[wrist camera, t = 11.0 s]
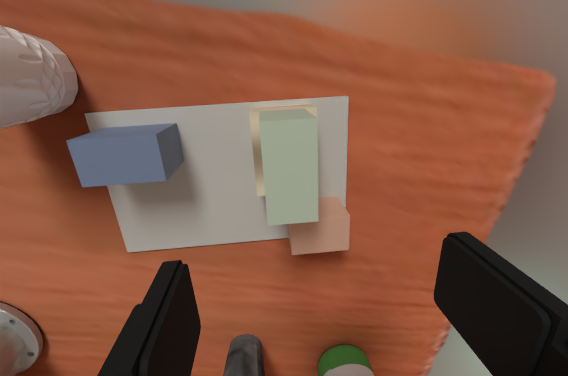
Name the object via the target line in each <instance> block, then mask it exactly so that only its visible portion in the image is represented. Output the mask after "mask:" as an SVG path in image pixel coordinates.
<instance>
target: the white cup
mask: <svg viewBox="0 0 568 376" xmlns="http://www.w3.org/2000/svg"><path fill="white" fill-rule="evenodd" d="M77 92H78V82H77V74H76V71H75V69H74V68H73V66H72V64H71V62H70V61H69V59H68V57H67V56H66V55H65V54H64V53H63V52H62V51H61V50H60V49H58V48H57V47H56V46H55V45H54V44H52V43H51V42H50V41H47V40H44V39H41V38H39V37H36V36H33V35H30V34H26V33H21V32H19V31H17V30H14V29H11V28H7V27H3V26H0V130H2V129H6V128H10V127H13V126H17V125H21V124H24V123H27V122H31V121H34V120H38V119H40V118H43V117H45V116H48V115H52V114H56V113H60V112H62V111H63V110H65V109H66V108H68V107H69V106H70V105H72V104H73V102H74V100H75V97H76V95H77Z"/></svg>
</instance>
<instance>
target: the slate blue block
mask: <svg viewBox="0 0 568 376" xmlns="http://www.w3.org/2000/svg"><path fill="white" fill-rule="evenodd" d="M66 142H67V145H68V148H69V151H70V154H71V157H72V160H73V162H74V165H75V168H76V171H77V174H78V177H79V180H80V183H81V185H82V187H94V186H107V185H120V184H133V183H145V182H158V181H167V180H168V179H169V177H170V176H171V175H172V174H173V173H174V172H175V171H176V170H177V169H178V167H179V166H180V165H181V164H182V163H183V162H184V159H183V154H182V148H181V143H180V138H179V133H178V128H177V123H168V124H153V125H139V126H124V127H110V128H103V129H100V130H97V131H94V132H91V133H88V134H85V135H81V136H78V137H75V138H72V139H69V140H66Z"/></svg>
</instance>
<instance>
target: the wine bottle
mask: <svg viewBox="0 0 568 376" xmlns="http://www.w3.org/2000/svg"><path fill="white" fill-rule="evenodd" d="M318 376H374V374H373V372H372V369H371V366H370V364H369V361H368V359H367V357H366V355H365V354H364V353H363V351H362V350H360V349H359V348H357V347H355V346H352V345H338V346H334V347H332V348H330V349H328V350H327V351H326V352H324V353H323V355H322V356H321V357H320V359H319V362H318Z"/></svg>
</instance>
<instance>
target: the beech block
mask: <svg viewBox="0 0 568 376" xmlns="http://www.w3.org/2000/svg"><path fill="white" fill-rule="evenodd" d="M292 109H306V110H307V111H309V112H310V113H311V114H313V115H314V116H315V117H317V107H315V106H313V105H311V104H297V105H282V106H267V107H252V108H250V110H249V118H250V128H251V138H252V148H253V158H254V168H255V178H256V188H257V196H265V187H264V175H263V163H262V151H261V140H260V128H259V112H261V111H276V110H292Z"/></svg>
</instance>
